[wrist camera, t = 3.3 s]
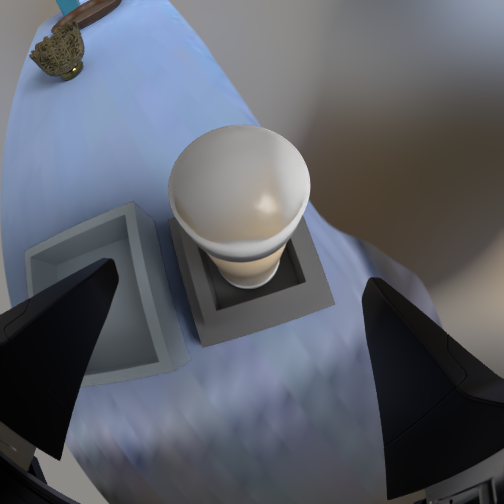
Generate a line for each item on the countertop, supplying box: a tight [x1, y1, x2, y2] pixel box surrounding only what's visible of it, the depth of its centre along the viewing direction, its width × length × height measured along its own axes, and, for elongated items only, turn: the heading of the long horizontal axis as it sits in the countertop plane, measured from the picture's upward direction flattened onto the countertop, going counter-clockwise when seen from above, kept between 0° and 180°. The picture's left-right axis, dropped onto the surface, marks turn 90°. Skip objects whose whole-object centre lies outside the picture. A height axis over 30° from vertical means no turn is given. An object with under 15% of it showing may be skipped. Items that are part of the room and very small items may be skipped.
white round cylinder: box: [168, 125, 310, 290], centre depth 12 cm, size 4×4×11 cm
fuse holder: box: [168, 215, 335, 347], centre depth 17 cm, size 9×9×4 cm
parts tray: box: [25, 201, 191, 387], centre depth 16 cm, size 10×10×4 cm
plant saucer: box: [51, 0, 122, 34], centre depth 30 cm, size 18×18×3 cm
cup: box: [29, 21, 84, 80], centre depth 21 cm, size 8×7×8 cm
